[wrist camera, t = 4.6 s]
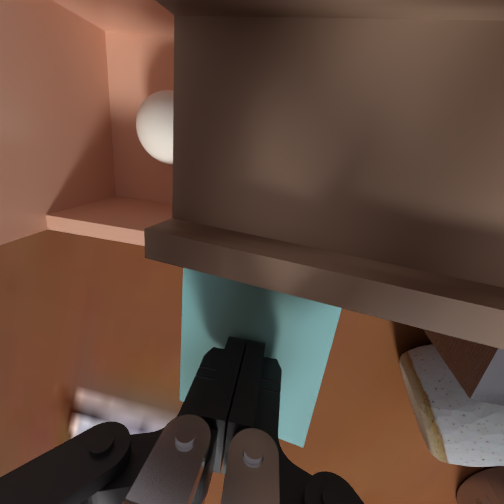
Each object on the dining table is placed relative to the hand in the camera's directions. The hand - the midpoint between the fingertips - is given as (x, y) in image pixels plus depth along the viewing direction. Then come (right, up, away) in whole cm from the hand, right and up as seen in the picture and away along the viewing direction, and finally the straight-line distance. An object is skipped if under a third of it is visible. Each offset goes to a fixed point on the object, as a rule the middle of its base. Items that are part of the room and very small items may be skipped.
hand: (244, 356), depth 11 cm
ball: (-4, +11, +5) cm, 13 cm away
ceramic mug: (+17, -5, +11) cm, 21 cm away
